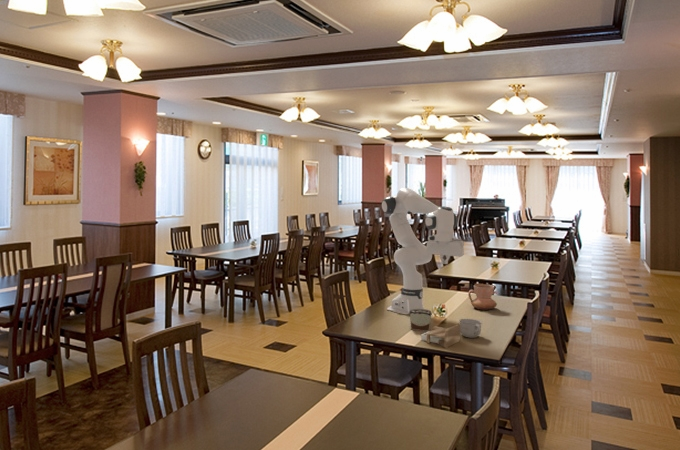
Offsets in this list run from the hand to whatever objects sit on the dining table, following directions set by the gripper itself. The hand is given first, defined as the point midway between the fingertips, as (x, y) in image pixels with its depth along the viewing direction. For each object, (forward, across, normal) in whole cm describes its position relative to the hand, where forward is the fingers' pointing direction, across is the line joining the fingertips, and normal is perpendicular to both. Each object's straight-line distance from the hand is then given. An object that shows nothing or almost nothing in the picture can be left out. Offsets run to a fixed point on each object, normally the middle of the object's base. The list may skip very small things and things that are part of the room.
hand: (444, 263), depth 270 cm
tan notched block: (+34, -10, +24) cm, 43 cm away
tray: (+34, -8, +24) cm, 43 cm away
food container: (+34, +8, +10) cm, 37 cm away
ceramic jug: (+34, 0, -54) cm, 64 cm away
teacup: (+34, -19, +8) cm, 40 cm away
